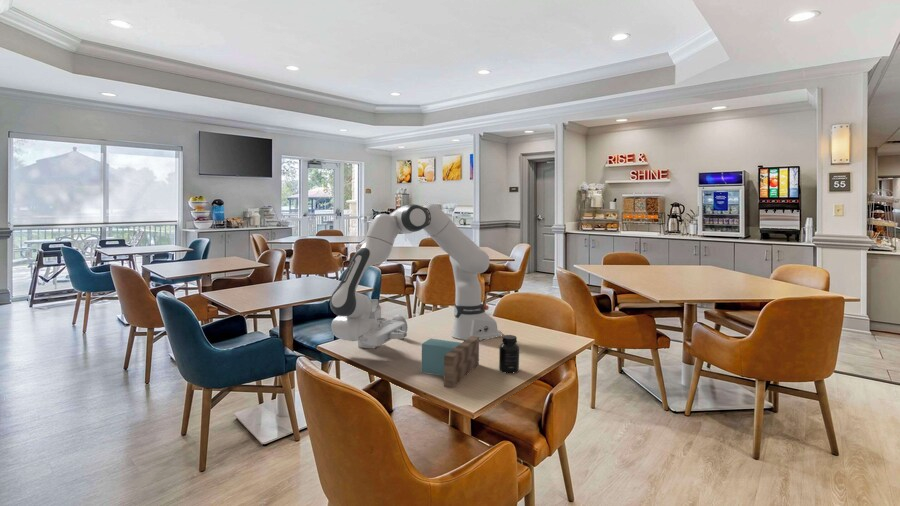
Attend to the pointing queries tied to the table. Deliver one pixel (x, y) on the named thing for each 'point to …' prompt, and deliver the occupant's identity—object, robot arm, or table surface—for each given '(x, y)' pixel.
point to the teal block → (435, 355)
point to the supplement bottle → (509, 354)
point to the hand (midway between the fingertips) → (404, 335)
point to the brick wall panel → (461, 361)
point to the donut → (400, 319)
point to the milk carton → (374, 315)
